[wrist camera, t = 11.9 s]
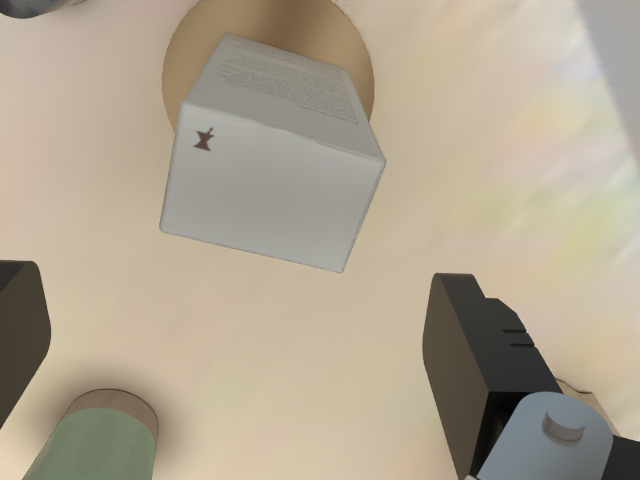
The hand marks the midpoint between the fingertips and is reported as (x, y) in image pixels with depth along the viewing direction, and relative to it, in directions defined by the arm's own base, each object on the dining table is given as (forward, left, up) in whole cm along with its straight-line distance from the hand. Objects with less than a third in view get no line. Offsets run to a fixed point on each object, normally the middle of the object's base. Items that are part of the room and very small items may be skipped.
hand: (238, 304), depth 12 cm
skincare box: (0, 0, -18) cm, 18 cm away
